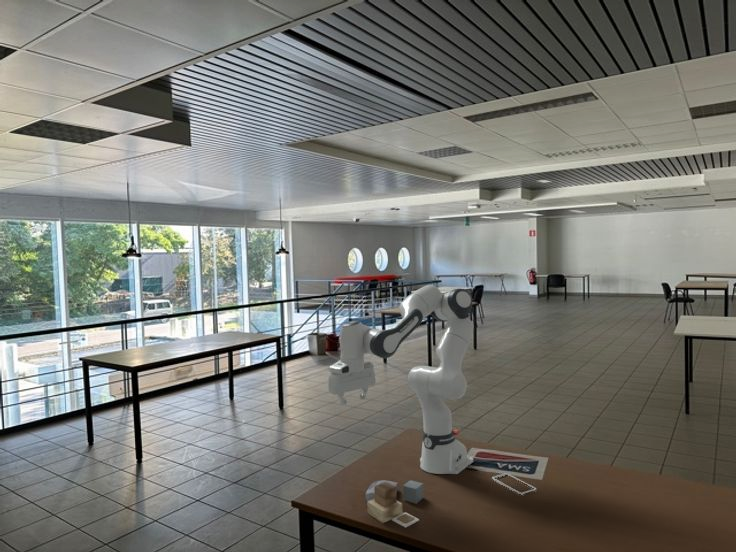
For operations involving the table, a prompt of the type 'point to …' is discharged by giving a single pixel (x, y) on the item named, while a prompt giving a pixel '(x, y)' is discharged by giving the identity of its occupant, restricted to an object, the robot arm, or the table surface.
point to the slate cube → (413, 491)
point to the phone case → (510, 487)
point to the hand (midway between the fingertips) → (353, 401)
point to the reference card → (405, 519)
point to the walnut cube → (385, 494)
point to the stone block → (371, 492)
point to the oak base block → (384, 510)
